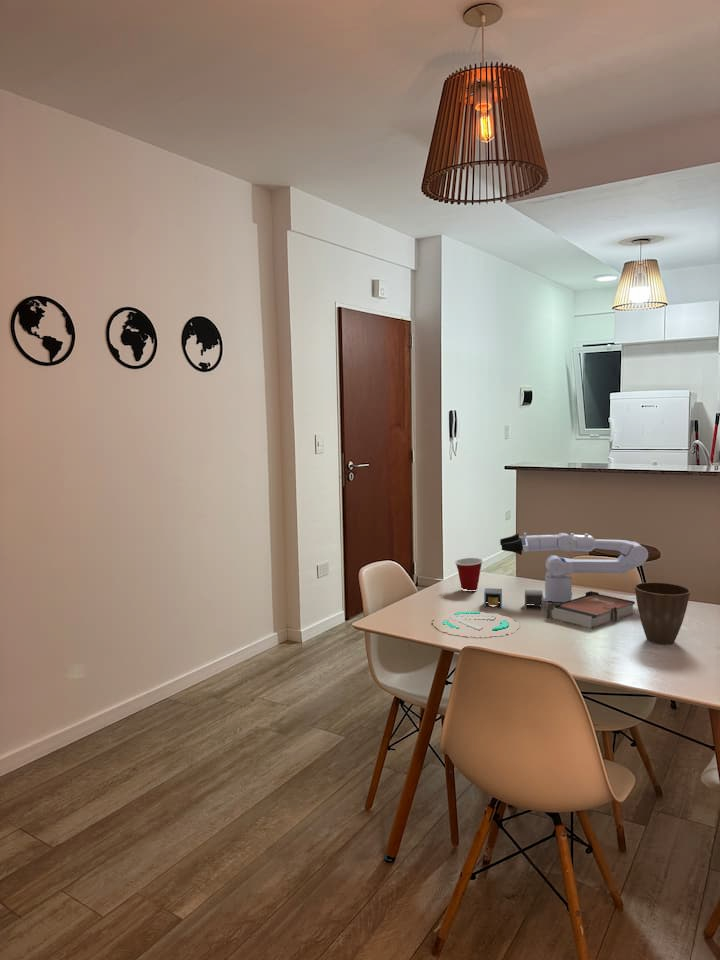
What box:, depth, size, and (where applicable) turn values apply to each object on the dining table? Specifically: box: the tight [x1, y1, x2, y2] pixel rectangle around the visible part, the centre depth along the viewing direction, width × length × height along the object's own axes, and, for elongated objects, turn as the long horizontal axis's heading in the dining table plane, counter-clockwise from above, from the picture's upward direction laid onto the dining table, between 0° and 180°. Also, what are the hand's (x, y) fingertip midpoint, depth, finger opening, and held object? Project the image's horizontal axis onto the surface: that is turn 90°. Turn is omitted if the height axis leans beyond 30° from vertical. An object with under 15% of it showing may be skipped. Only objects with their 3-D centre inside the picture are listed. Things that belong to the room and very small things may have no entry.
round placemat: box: [442, 610, 509, 631], centre depth 221 cm, size 28×28×2 cm
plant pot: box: [634, 582, 691, 646], centre depth 201 cm, size 15×15×16 cm
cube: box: [487, 595, 499, 607], centre depth 242 cm, size 4×4×4 cm
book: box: [546, 590, 636, 630], centre depth 228 cm, size 26×18×5 cm
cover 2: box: [524, 589, 544, 610], centre depth 239 cm, size 6×6×6 cm
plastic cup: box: [454, 557, 484, 590], centre depth 263 cm, size 11×11×12 cm
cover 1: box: [483, 587, 503, 608], centre depth 242 cm, size 6×6×6 cm
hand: (500, 544), depth 250 cm, fingers open, 7 cm apart
